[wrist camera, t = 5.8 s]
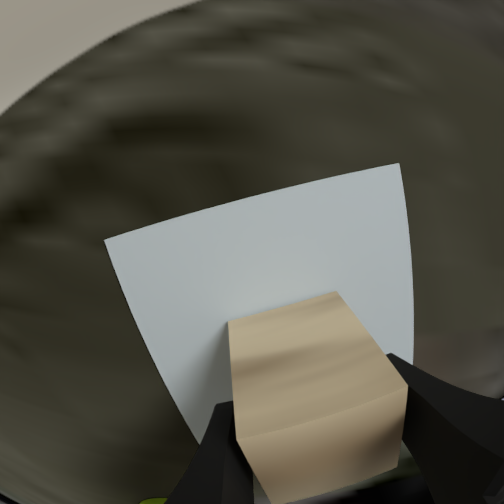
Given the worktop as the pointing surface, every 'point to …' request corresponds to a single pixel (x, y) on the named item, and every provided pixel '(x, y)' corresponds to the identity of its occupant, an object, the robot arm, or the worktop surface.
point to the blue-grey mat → (266, 274)
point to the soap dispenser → (154, 501)
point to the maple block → (313, 398)
